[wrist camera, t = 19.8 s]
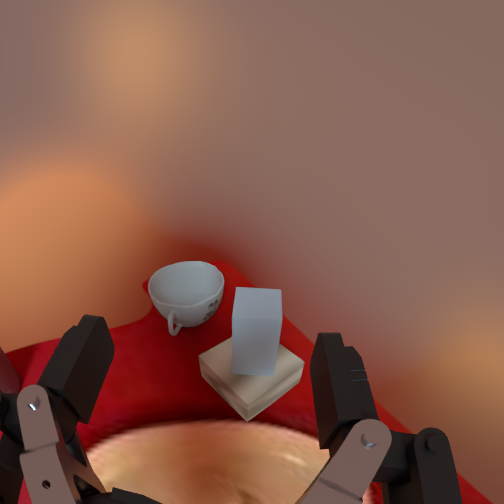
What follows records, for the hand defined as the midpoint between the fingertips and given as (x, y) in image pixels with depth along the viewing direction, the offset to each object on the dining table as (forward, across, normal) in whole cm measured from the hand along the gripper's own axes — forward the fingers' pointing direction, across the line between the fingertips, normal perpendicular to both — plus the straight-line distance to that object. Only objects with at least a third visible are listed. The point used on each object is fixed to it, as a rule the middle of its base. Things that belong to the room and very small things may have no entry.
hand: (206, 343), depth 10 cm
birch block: (+18, -2, +28) cm, 33 cm away
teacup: (+30, +9, +28) cm, 42 cm away
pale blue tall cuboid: (+18, -3, +23) cm, 29 cm away
